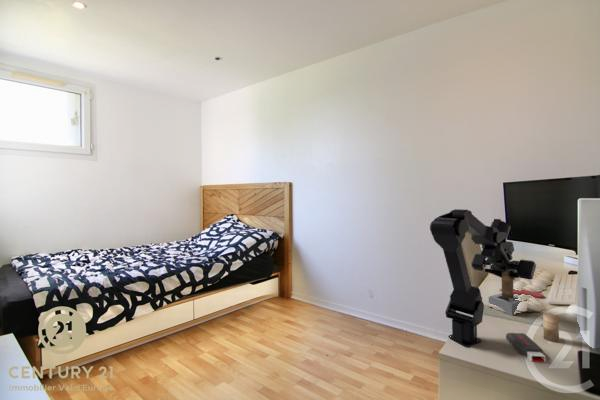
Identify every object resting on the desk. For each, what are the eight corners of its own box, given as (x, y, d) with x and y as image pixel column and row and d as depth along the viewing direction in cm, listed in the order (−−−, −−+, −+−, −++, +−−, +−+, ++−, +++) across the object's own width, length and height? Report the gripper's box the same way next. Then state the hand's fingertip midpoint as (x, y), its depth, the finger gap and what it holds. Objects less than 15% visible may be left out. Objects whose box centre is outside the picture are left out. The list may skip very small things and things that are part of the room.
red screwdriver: (499, 285, 132) (544, 293, 122) (499, 289, 132) (544, 297, 122) (497, 288, 129) (542, 296, 119) (497, 292, 129) (542, 300, 119)
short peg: (554, 343, 88) (553, 319, 88) (540, 337, 91) (540, 314, 91) (562, 340, 89) (561, 316, 89) (548, 335, 93) (547, 312, 92)
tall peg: (512, 299, 109) (511, 263, 109) (500, 296, 112) (499, 261, 111) (514, 296, 112) (513, 261, 111) (503, 294, 114) (502, 259, 114)
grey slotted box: (511, 315, 107) (511, 304, 106) (488, 307, 114) (488, 296, 114) (527, 310, 110) (527, 299, 109) (504, 302, 118) (504, 292, 117)
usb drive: (525, 340, 91) (525, 331, 91) (549, 363, 79) (549, 353, 79) (505, 339, 92) (505, 330, 92) (527, 362, 80) (526, 352, 80)
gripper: (533, 237, 101) (545, 264, 108) (474, 232, 116) (487, 256, 123) (525, 265, 97) (537, 291, 104) (464, 256, 112) (479, 279, 119)
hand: (508, 278), depth 112 cm, fingers closed on tall peg, 3 cm apart
